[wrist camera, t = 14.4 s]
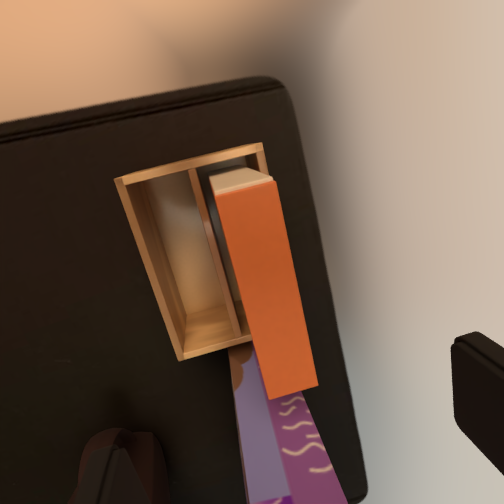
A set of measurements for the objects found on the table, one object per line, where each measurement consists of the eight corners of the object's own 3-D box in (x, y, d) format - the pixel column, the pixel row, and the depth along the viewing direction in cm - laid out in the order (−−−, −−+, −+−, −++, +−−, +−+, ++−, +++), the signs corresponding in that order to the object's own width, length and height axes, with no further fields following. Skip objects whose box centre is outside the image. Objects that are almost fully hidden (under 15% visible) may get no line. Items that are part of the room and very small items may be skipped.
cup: (101, 493, 40) (63, 628, 29) (69, 397, 36) (9, 509, 25) (186, 475, 42) (180, 597, 30) (163, 379, 37) (148, 479, 26)
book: (238, 163, 31) (275, 176, 16) (267, 283, 35) (318, 385, 20) (206, 171, 31) (212, 192, 16) (238, 291, 35) (268, 400, 20)
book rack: (183, 317, 36) (178, 361, 28) (134, 172, 31) (113, 178, 24) (280, 290, 36) (301, 326, 29) (247, 144, 32) (262, 142, 24)
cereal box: (223, 318, 36) (263, 602, 14) (268, 312, 37) (377, 575, 14) (239, 447, 42) (287, 809, 19) (278, 440, 42) (370, 783, 19)
